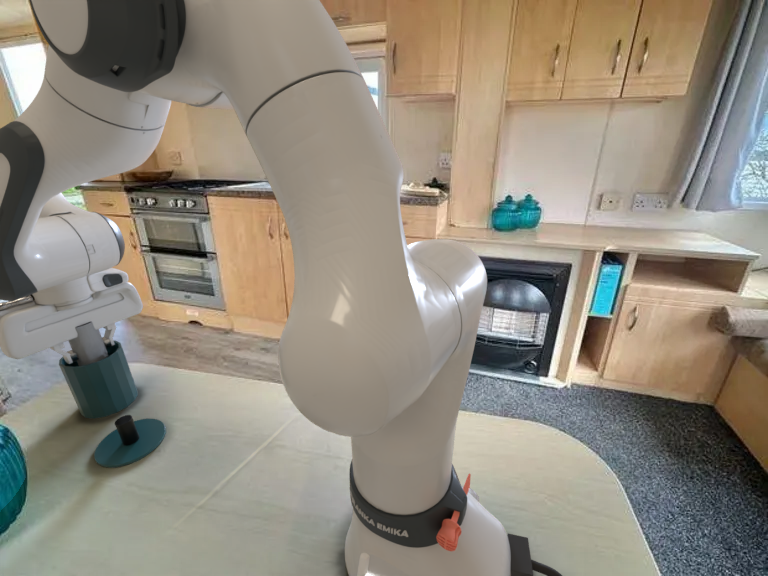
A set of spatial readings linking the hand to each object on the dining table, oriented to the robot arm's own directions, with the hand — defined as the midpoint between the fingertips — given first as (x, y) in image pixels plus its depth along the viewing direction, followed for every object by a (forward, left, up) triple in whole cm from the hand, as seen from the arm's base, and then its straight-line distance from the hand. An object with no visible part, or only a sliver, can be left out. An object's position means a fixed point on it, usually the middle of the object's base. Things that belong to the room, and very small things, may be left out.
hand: (91, 353), depth 65 cm
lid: (-15, +4, -11) cm, 19 cm away
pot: (0, 0, -12) cm, 12 cm away
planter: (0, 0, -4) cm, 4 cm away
